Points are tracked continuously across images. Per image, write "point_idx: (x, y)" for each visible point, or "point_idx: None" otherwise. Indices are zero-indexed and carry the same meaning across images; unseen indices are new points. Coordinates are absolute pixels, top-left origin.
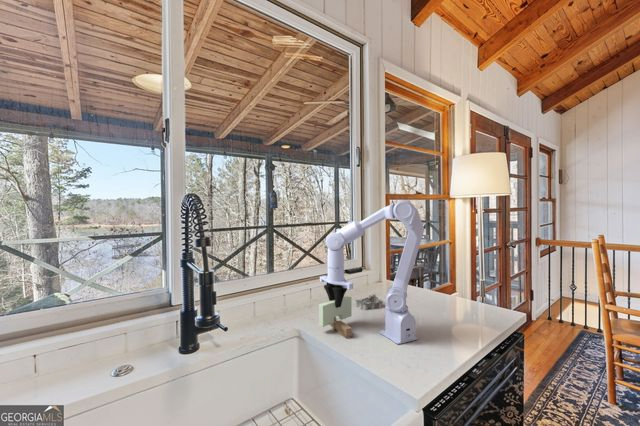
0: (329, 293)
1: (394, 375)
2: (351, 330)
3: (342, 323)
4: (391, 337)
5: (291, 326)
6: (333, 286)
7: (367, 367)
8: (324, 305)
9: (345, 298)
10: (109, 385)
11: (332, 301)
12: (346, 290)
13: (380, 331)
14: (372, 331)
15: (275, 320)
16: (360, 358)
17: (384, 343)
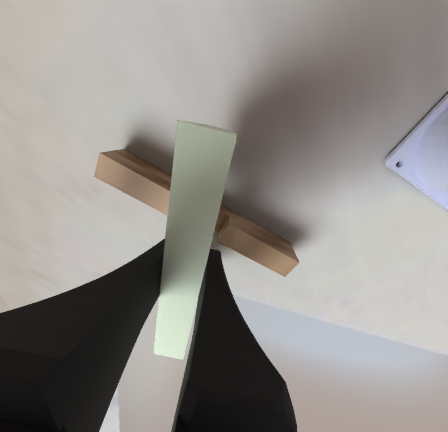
0: (129, 356)
1: (429, 333)
2: (296, 256)
3: (250, 245)
4: (441, 191)
5: (102, 266)
6: (85, 409)
7: (368, 332)
8: (184, 353)
9: (212, 212)
10: (112, 426)
11: (176, 301)
12: (268, 360)
13: (392, 163)
14: (349, 162)
15: (33, 257)
16: (346, 314)
17: (405, 228)
